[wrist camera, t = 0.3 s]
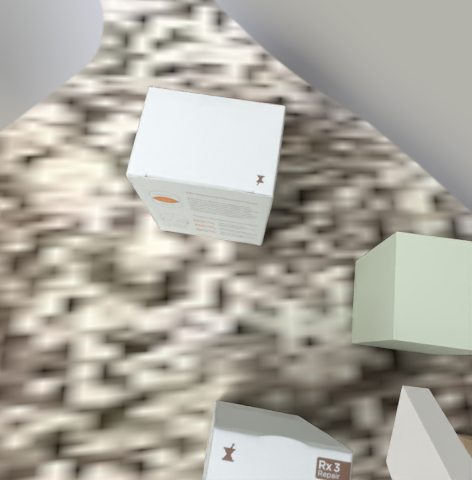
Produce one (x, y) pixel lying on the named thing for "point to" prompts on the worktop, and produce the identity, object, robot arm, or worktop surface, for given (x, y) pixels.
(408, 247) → the sage block
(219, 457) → the skincare box
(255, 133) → the small box
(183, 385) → the worktop surface
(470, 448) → the birch block
